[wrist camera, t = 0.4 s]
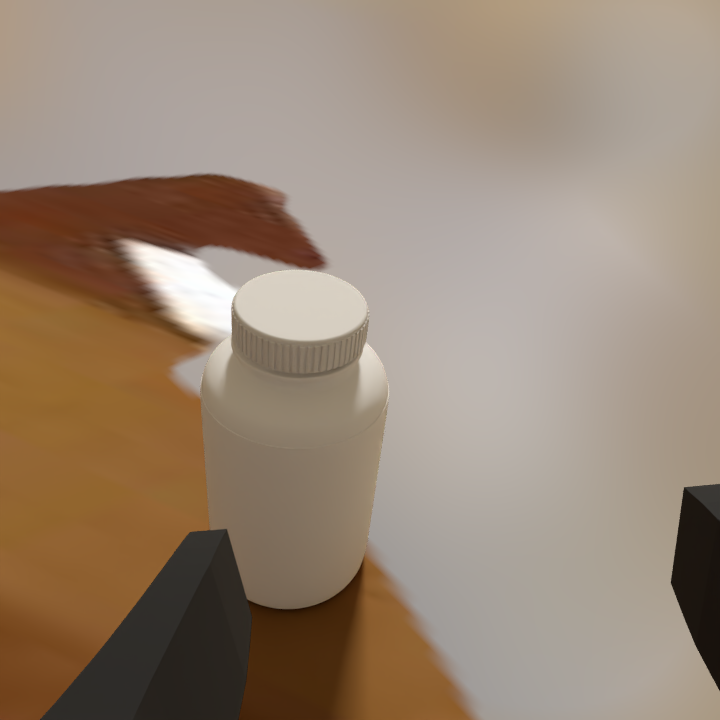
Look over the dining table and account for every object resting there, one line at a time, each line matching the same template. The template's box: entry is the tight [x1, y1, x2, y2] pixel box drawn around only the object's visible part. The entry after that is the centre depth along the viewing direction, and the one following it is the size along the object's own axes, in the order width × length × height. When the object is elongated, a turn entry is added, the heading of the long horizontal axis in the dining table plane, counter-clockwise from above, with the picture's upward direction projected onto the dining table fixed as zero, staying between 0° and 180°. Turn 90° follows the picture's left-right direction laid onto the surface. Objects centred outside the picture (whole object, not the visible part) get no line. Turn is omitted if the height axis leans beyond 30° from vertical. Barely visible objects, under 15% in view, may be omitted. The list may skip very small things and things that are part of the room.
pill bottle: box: [200, 270, 389, 609], centre depth 30 cm, size 8×8×15 cm
